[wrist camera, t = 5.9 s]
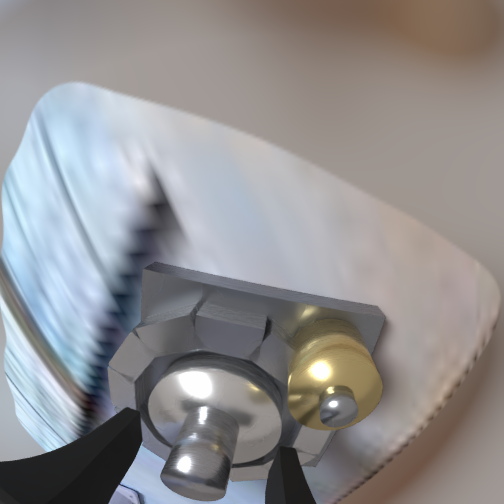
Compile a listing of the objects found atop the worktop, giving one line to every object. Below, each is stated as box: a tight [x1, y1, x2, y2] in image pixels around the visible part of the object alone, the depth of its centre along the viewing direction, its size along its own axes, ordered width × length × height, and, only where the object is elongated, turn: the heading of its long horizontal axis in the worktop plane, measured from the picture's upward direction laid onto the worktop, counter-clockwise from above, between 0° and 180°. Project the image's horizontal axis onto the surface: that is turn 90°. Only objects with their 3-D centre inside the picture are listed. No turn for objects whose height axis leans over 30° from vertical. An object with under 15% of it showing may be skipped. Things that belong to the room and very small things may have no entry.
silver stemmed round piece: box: [148, 354, 282, 501], centre depth 10 cm, size 6×6×5 cm
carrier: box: [108, 262, 386, 482], centre depth 11 cm, size 11×11×5 cm
